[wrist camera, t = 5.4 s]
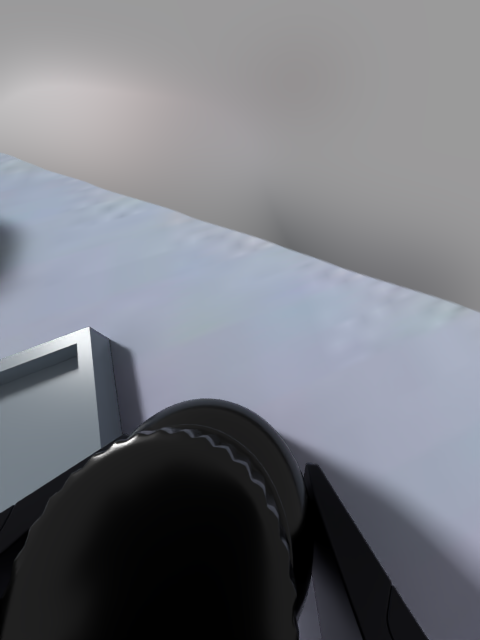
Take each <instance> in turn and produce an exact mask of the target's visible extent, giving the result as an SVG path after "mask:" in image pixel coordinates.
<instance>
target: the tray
mask: <svg viewBox="0 0 480 640" xmlns="http://www.w3.org/2000/svg"><path fill="white" fill-rule="evenodd" d="M121 435H122V430H121V423H120V415H119V408H118V401H117V393H116V386H115V379H114V372H113V364H112V357H111V350H110V342H109V338H107V337H105V336H104V335H102V334H100V333H99V332H97V331H96V330H94V329H92V328H91V327H87V328H84V329H82V330H79V331H76V332H74V333H71V334H68V335H66V336H63V337H60V338H57V339H55V340H52V341H49V342H47V343H44V344H41V345H38V346H36V347H33V348H30V349H28V350H25V351H22V352H19V353H17V354H14V355H11V356H9V357H6V358H3V359H1V360H0V513H1V512H3V511H4V510H6V509H7V508H9V507H10V506H12V505H15V504H16V503H17V502H18V501H20V500H21V499H23V498H24V497H26V496H28V495H29V494H31V493H32V492H34V491H35V490H37V489H38V488H40V487H42V486H43V485H45V484H46V483H48V482H49V481H51V480H52V479H54V478H56V477H57V476H59V475H60V474H62V473H63V472H65V471H66V470H68V469H70V468H71V467H73V466H74V465H76V464H77V463H79V462H81V461H82V460H84V459H85V458H87V457H88V456H90V455H91V454H93V453H95V452H96V451H98V450H99V449H101V448H102V447H104V446H105V445H107V444H109V443H110V442H112V441H113V440H115V439H116V438H118V437H119V436H121Z"/></svg>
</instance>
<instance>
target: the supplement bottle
mask: <svg viewBox="0 0 480 640" xmlns="http://www.w3.org/2000/svg"><path fill="white" fill-rule="evenodd" d="M313 555H314V526H313V516H312V509H311V504H310V499H309V495H308V491H307V487H306V484H305V481H304V478H303V476H302V473H301V471H300V468H299V466H298V464H297V462H296V460H295V458H294V456H293V454H292V452H291V451H290V449H289V448H288V446H287V445H286V443H285V442H284V440H283V439H282V438H281V436H280V435H279V434H278V433H277V431H276V430H275V429H274V428H273V427H272V426H271V425H270V424H269V423H267V422H266V421H265V420H264V419H263V418H261V417H260V416H259V415H257V414H256V413H254V412H253V411H251V410H249V409H247V408H245V407H243V406H241V405H238V404H235V403H232V402H229V401H225V400H220V399H193V400H188V401H184V402H181V403H178V404H175V405H172V406H170V407H168V408H165V409H164V410H162V411H160V412H158V413H156V414H155V415H153V416H152V417H150V418H149V419H147V420H146V421H145V422H144V423H142V424H141V425H140V426H139V427H138V428H137V429H136V430H135V431H134V432H133V433H132V434H131V435H130V436H129V437H128V438H127V439H120V440H117V441H115V442H114V443H113V444H112V445H111V446H109V447H108V448H107V449H106V451H102V452H99V453H96V454H94V455H92V456H91V458H90V459H89V460H88V461H87V462H86V464H85V465H84V466H83V468H80V469H78V470H76V471H75V472H73V473H71V474H70V476H69V477H68V479H67V480H66V482H65V484H64V485H63V487H62V489H60V490H59V491H58V492H56V493H55V494H54V495H52V496H51V497H50V498H49V500H48V502H47V504H46V507H45V509H44V511H43V514H42V515H41V516H40V517H39V518H38V519H37V520H36V521H35V522H34V523H33V524H32V526H31V527H30V530H29V532H28V535H27V539H26V542H25V545H24V547H23V548H22V550H21V551H20V552H19V553H18V555H17V557H16V558H15V560H14V561H13V565H12V570H11V576H10V581H9V583H8V585H7V587H6V589H5V590H4V592H3V594H2V596H1V598H0V640H299V629H298V623H297V622H298V620H299V617H300V615H301V612H302V609H303V607H304V603H305V600H306V597H307V593H308V589H309V584H310V579H311V574H312V566H313Z"/></svg>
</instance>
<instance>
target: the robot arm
mask: <svg viewBox="0 0 480 640" xmlns="http://www.w3.org/2000/svg"><path fill="white" fill-rule="evenodd" d="M129 436H130V435H128V434H123V435H121V436H119V437H118V438H116V439H115V440H113V441H112V442H110V443H109V444H107V445H105V446H104V447H102V448H101V449H99V450H98V451H96V452H95V453H93V454H91V455H90V456H88V457H87V458H85V459H84V460H82V461H81V462H79V463H77V464H76V465H74V466H73V467H71V468H70V469H68V470H66V471H65V472H63V473H62V474H60V475H59V476H57V477H56V478H54V479H52V480H51V481H49V482H48V483H46V484H45V485H43V486H42V487H40V488H38V489H37V490H35V491H34V492H32V493H31V494H29V495H28V496H26V497H24V498H23V499H21V500H20V501H18V502H17V503H16V504H15V505H12V506H10V507H9V508H7V509H6V510H4V511H3V512H1V513H0V598H1V596H2V594H3V592H4V590H5V589H6V587H7V585H8V583H9V581H10V576H11V570H12V565H13V561H14V560H15V558H16V557H17V555H18V553H19V552H20V551H21V550H22V548H23V547H24V545H25V542H26V539H27V535H28V532H29V530H30V527H31V526H32V524H33V523H34V522H35V521H36V520H37V519H38V518H39V517H40V516H41V515H42V514H43V511H44V509H45V507H46V504H47V502H48V500H49V498H50V497H51V496H52V495H54V494H55V493H56V492H58V491H59V490H60V489H62V487H63V485H64V484H65V482H66V480H67V479H68V477H69V476H70V474H71V473H73V472H75V471H76V470H78V469H80V468H83V466H84V465H85V464H86V462H87V461H88V460H89V459H90V458H91V456H92V455H94V454H96V453H99V452H102V451H106V449H107V448H108V447H109V446H111V445H112V444H113V443H114V442H115V441H117V440H120V439H127V438H128V437H129ZM304 481H305V484H306V487H307V491H308V495H309V499H310V504H311V509H312V516H313V526H314V555H313V566H312V577H313V584H314V590H315V597H316V603H317V610H318V616H319V623H320V630H321V636H322V640H429V639H428V638H427V637H426V635H425V634H424V632H423V631H422V629H421V627H420V626H419V624H418V623H417V621H416V620H415V618H414V617H413V615H412V614H411V612H410V610H409V609H408V607H407V606H406V604H405V603H404V601H403V599H402V598H401V596H400V595H399V593H398V591H397V590H396V588H395V587H394V586H393V585H392V582H391V580H390V579H389V577H388V576H387V574H386V572H385V571H384V569H383V568H382V566H381V564H380V563H379V561H378V560H377V558H376V556H375V555H374V553H373V552H372V550H371V548H370V547H369V545H368V544H367V542H366V540H365V539H364V537H363V536H362V534H361V532H360V531H359V529H358V528H357V526H356V524H355V523H354V521H353V520H352V518H351V516H350V515H349V513H348V512H347V510H346V508H345V507H344V505H343V504H342V502H341V500H340V499H339V497H338V496H337V494H336V492H335V491H334V489H333V488H332V486H331V484H330V483H329V481H328V480H327V478H326V476H325V475H324V473H323V472H322V470H321V468H320V467H319V466H318V465H317V464H313V463H307V464H306V467H305V473H304ZM391 585H392V586H391Z"/></svg>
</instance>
